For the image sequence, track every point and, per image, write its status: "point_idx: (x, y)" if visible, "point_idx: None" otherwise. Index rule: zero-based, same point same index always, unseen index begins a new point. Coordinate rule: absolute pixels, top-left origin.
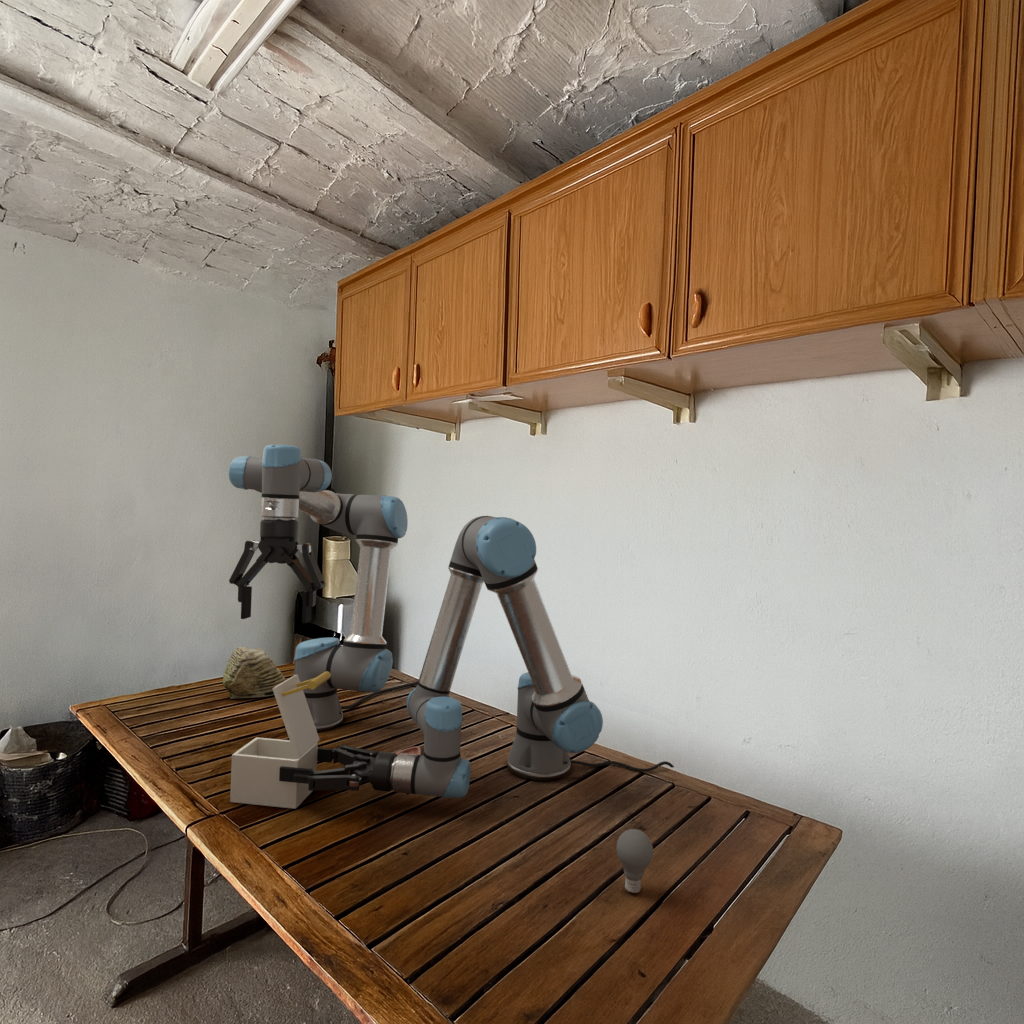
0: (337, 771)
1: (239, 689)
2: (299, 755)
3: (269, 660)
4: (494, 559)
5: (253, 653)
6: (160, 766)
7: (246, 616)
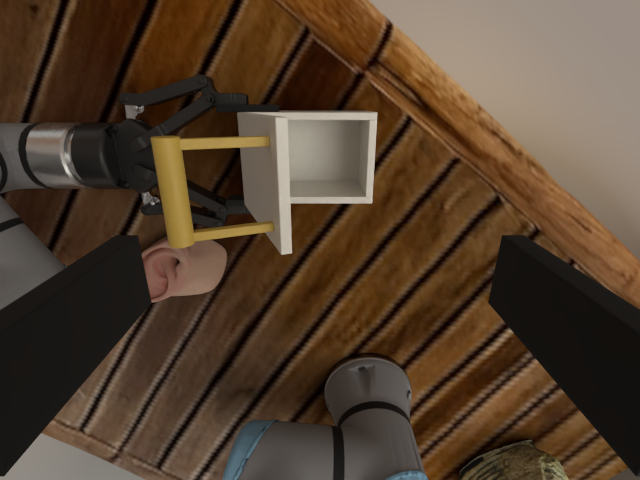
0: (171, 117)
1: (524, 453)
2: (237, 113)
3: None
4: None
5: None
6: (529, 204)
7: (502, 265)
